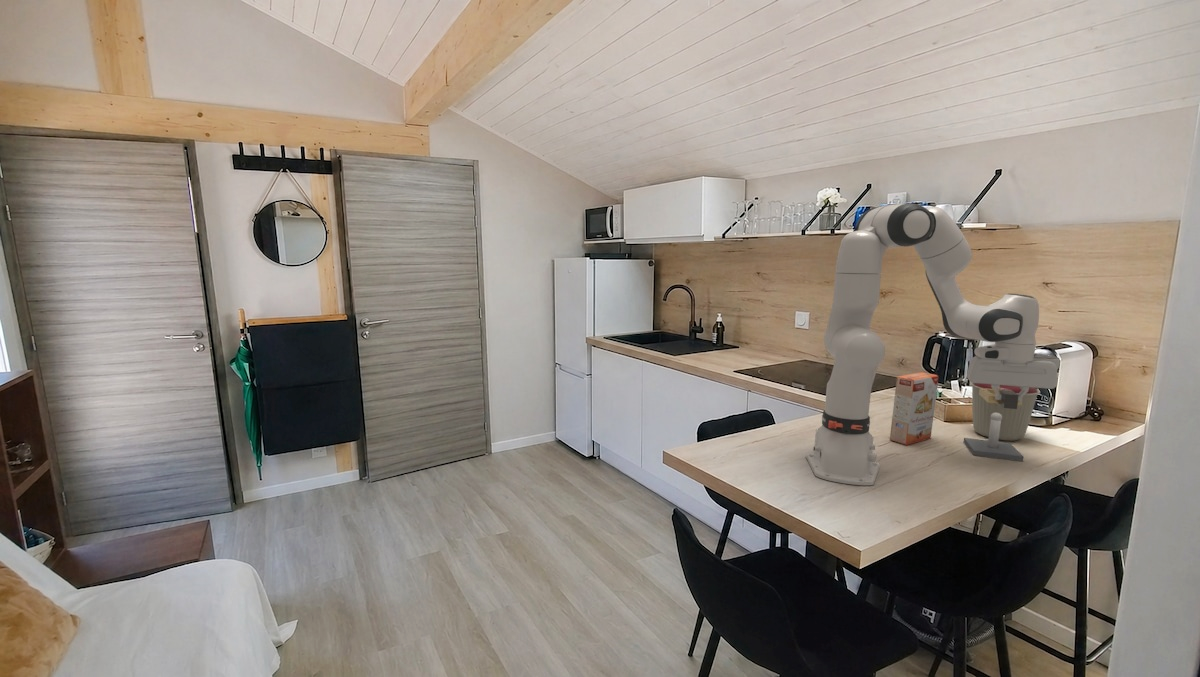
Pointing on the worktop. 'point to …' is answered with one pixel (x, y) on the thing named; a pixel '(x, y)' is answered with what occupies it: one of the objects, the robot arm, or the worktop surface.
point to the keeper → (993, 444)
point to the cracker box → (913, 407)
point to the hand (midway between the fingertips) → (1008, 400)
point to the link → (1008, 397)
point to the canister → (1002, 412)
